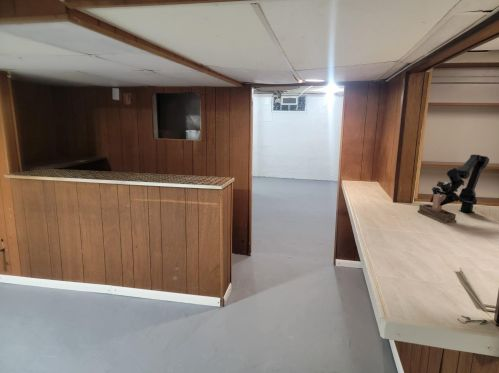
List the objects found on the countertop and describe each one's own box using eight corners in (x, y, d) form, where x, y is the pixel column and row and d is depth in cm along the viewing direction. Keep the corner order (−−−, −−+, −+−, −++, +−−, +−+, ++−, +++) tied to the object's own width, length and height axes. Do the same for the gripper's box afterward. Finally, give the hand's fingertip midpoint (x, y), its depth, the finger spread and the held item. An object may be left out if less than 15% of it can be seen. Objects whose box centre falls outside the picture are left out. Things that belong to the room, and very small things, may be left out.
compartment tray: (430, 211, 214) (430, 204, 213) (456, 222, 191) (457, 214, 190) (417, 211, 213) (418, 204, 212) (442, 222, 190) (443, 214, 189)
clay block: (435, 213, 204) (438, 194, 201) (440, 215, 200) (443, 195, 197) (431, 214, 204) (433, 194, 201) (436, 216, 199) (438, 196, 197)
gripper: (435, 174, 206) (418, 191, 207) (457, 179, 188) (438, 198, 189) (445, 186, 209) (428, 203, 210) (468, 192, 191) (448, 210, 192)
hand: (435, 203), depth 200 cm, fingers open, 8 cm apart
